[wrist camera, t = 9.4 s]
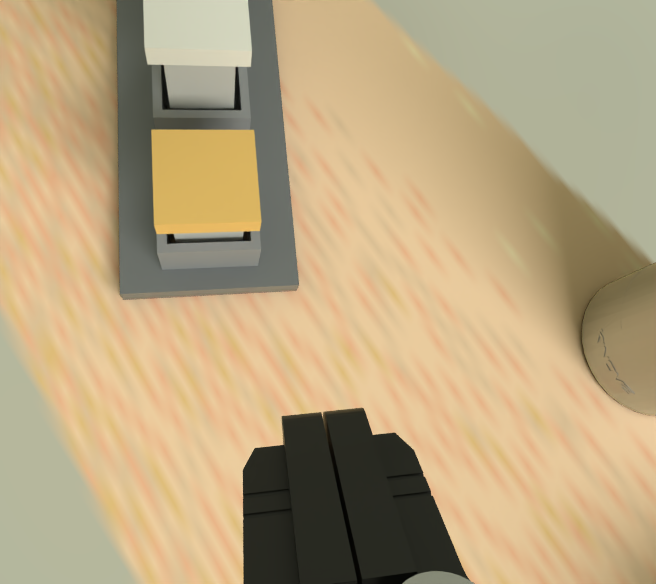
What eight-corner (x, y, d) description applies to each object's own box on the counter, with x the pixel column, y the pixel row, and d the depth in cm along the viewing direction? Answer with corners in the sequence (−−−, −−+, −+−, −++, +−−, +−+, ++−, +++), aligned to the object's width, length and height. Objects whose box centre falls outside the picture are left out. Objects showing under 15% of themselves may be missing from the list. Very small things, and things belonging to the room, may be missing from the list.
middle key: (155, 44, 34) (142, -40, 28) (241, 46, 35) (245, -34, 29) (157, 119, 33) (144, 47, 27) (246, 119, 34) (251, 50, 28)
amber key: (163, 184, 34) (151, 129, 28) (248, 183, 35) (254, 129, 29) (165, 265, 33) (153, 224, 27) (254, 261, 34) (261, 221, 28)
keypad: (119, -41, 39) (108, -95, 35) (266, -33, 41) (270, -82, 37) (123, 299, 33) (110, 279, 29) (296, 290, 35) (305, 270, 31)
